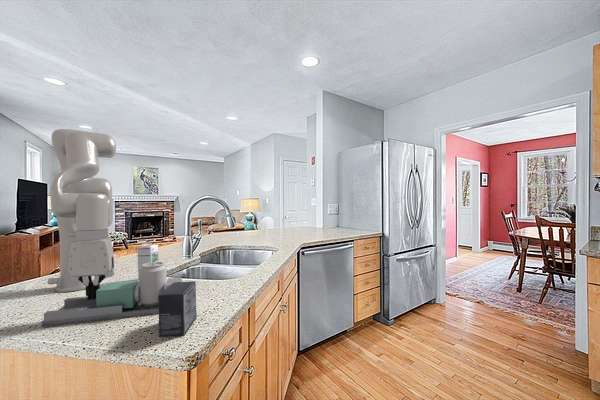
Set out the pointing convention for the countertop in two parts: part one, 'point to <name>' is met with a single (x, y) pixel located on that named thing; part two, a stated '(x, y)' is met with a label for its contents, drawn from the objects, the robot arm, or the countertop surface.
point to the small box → (177, 308)
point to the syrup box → (147, 255)
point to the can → (151, 282)
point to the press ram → (118, 294)
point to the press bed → (126, 313)
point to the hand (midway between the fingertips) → (93, 297)
